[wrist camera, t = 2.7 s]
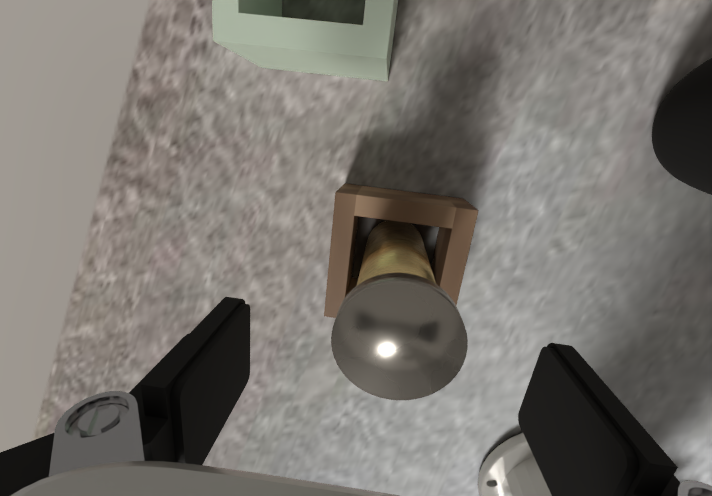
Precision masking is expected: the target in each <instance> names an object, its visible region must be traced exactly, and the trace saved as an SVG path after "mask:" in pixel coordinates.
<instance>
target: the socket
mask: <svg viewBox="0 0 712 496" xmlns="http://www.w3.org/2000/svg"><path fill="white" fill-rule="evenodd" d="M397 6H398V0H365V10H364V20H363V25H356V24H346V23H336V22H326V21H316V20H306V19H296V18H285V17H282V0H212V16H213V41H214V42H216V43H218V44H220V45H221V46H223V47H225V48H227V49H229V50H230V51H232V52H234V53H236V54H238V55H239V56H241V57H243V58H245V59H247V60H248V61H250V62H252V63H254V64H256V65H257V66H259V67H261V68H269V69H278V70H287V71H297V72H306V73H315V74H324V75H333V76H343V77H352V78H361V79H370V80H379V81H388V76H389V68H390V60H391V53H392V45H393V37H394V30H395V22H396V14H397Z"/></svg>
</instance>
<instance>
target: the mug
mask: <svg viewBox="0 0 712 496" xmlns="http://www.w3.org/2000/svg"><path fill="white" fill-rule="evenodd" d="M652 143H653V148H654V151H655V154H656V156H657V158H658V160H659V162H660V163H661V164H662V166H663V167H664V168H665V169H666V170H667V171H668V172H669V173H670V174H672V175H673V176H674V177H676V178H677V179H679V180H680V181H682V182H684V183H686V184H688V185H690V186H692V187H694V188H696V189H699V190H701V191H703V192H706V193H708V194H711V195H712V58H711V59H710V60H708V61H706V62H705V63H703V64H702V65H700V66H699V67H697V68H696V69H694V70H693V71H692V72H690V73H689V74H688V75H687V76H686V77H684V78H683V79H682V80H681V81H680V82H679V83H678V84H677V85H676V86H675V87H674V88H673V89H672V90H671V91H670V93H669V94H668V95H667V97H666V98H665V100H664V101H663V103H662V104H661V106H660V108H659V110H658V112H657V115H656V117H655V120H654V124H653V130H652Z"/></svg>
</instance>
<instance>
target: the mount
mask: <svg viewBox="0 0 712 496" xmlns="http://www.w3.org/2000/svg"><path fill="white" fill-rule="evenodd" d="M477 215H478V210H477V209H476V208H475V207H473V206H472V205H471V204H470V203H468V202H467V201H466V200H465V199H463V198H455V197H447V196H439V195H431V194H424V193H416V192H408V191H400V190H392V189H385V188H377V187H369V186H361V185H353V184H346V183H345V184H344V185H343V186H342V187H341V188H340V189H338V190H337V191H336V194H335V204H334V215H333V226H332V236H331V247H330V258H329V269H328V279H327V290H326V301H325V311H324V316H327V317H333V318H336V316H337V313H338V310H339V307H340V305H341V303H342V301H343V300H344V298H345V297H346V296H347V294H348V293H349V292H350V291H351V290H352V289H353V288H354V287H356V286H357V282H358V278H352V269H353V261H354V252H355V244H356V236H357V227H358V219H359V216H361V217H369V218H376V219H384V220H391V221H399V222H406V223H414V224H421V225H429V226H436V227H439V231H438V236H437V241H436V246H435V251H434V256H433V261H432V266H431V269H432V272H433V275H434V278H435V281H436V284H437V285H438V286H440V287H441V288H442V289H443V290H444V291H446V293H447V294H448V295H449V296H450V297H451V298H452V300H453V301H454V303H455V304H457V300H458V296H459V292H460V287H461V283H462V279H463V274H464V270H465V266H466V262H467V257H468V253H469V249H470V245H471V240H472V236H473V232H474V227H475V223H476V219H477Z"/></svg>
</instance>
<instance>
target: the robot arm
mask: <svg viewBox="0 0 712 496" xmlns="http://www.w3.org/2000/svg"><path fill="white" fill-rule="evenodd" d="M249 375H250V306H249V305H248V304H245V301H244V300H243V299H238V298H231V297H225V298H224V299H223V300H222V301H221V302H220V303H219V304H218V305H217V306H216V307H215V308H214V309H213V310H212V311H211V312H210V313H209V314H208V315H207V316H206V317H205V318H204V319H203V320H202V321H201V322H200V324H199V325H198V326H197V327H196V328H195V329H194V330H193V331H192V332H191V333H190V334H187V335H186V336H185V337H183V338H182V339H181V340H180V341H179V342H178V344H177V345H176V346H175V347H174V348H173V349H172V350H171V351H170V352H169V353H168V354H167V355H166V356H165V357H164V358H163V359H162V360H161V361H160V362H159V363H158V364H157V365H156V366H155V367H154V368H153V369H152V370H151V371H150V372H149V373H148V374H147V375H146V376H145V377H144V378H143V379H142V380H141V381H140V382H139V383H138V384H137V385H136V386H135V387H134V388H133V389H132V390H131V391H130V392H129V393H126V392H122V391H109V392H104V393H99V394H96V395H94V396H91V397H88V398H86V399H84V400H82V401H80V402H79V403H77V404H75V405H74V406H72V407H71V408H70V409H69V410H67V411H66V412H65V413H64V414H63V416H62V417H61V418H60V419H59V420H58V423H57V425H56V428H55V433H52V434H50V435H47V436H44V437H41V438H39V439H36V440H33V441H31V442H28V443H25V444H22V445H20V446H17V447H15V448H12V449H9V450H6V451H3V452H1V453H0V496H398V495H392V494H386V493H380V492H374V491H368V490H362V489H355V488H349V487H343V486H336V485H330V484H324V483H317V482H311V481H305V480H298V479H292V478H286V477H279V476H273V475H267V474H260V473H254V472H246V471H239V470H232V469H225V468H217V467H210V466H203V465H202V464H203V462H204V461H205V459H206V457H207V455H208V453H209V452H210V450H211V448H212V446H213V444H214V442H215V441H216V439H217V437H218V435H219V433H220V432H221V430H222V428H223V426H224V424H225V422H226V421H227V419H228V417H229V415H230V413H231V412H232V410H233V408H234V406H235V404H236V402H237V401H238V399H239V397H240V395H241V393H242V392H243V390H244V388H245V386H246V384H247V382H248V379H249ZM518 420H519V425H520V427H521V429H522V432H523V433H521V434H518V435H516V436H514V437H512V438H510V439H508V440H507V441H505V442H503V443H502V444H500V445H499V446H498V447H497V448H496V449H495V450H494V451H492V452H491V453H490V454H489V456H488V457H487V459H486V460H485V461H484V463H483V465H482V467H481V470H480V472H479V477H478V489H479V495H480V496H712V486H710V485H708V484H704V483H701V482H698V481H690V480H686V481H684V482H681V483H680V482H679V481H678V480H677V478H676V477H675V476H674V473H675V471H676V470H677V468H678V467H677V466H676V465H675V464H674V463H673V461H672V460H671V459H670V458H669V457H668V456H667V455H666V453H665V452H664V451H663V450H662V449H661V448H660V446H659V445H658V444H657V443H656V442H655V441H654V440H653V438H652V437H651V436H650V435H649V434H648V433H647V431H646V430H645V429H644V428H643V427H642V426H641V425H640V423H639V422H638V421H637V420H636V419H635V418H634V417H633V415H632V414H631V413H630V412H629V411H628V410H627V408H626V407H625V406H624V405H623V404H622V403H621V402H620V400H619V399H618V398H617V397H616V396H615V395H614V393H613V392H612V391H611V390H610V389H609V388H608V387H607V385H606V384H605V383H604V382H603V381H602V380H601V379H600V377H599V376H598V375H597V374H596V373H595V372H594V370H593V369H592V368H591V367H590V366H589V365H588V364H587V362H586V361H585V360H584V359H583V358H582V357H581V355H580V354H579V353H578V352H577V351H576V350H575V349H574V348H573V347H572V346H569V345H562V344H555V343H550V344H549V345H548V346H547V347H543V348H542V350H541V352H540V355H539V357H538V360H537V363H536V366H535V369H534V371H533V374H532V377H531V380H530V383H529V385H528V388H527V391H526V394H525V397H524V399H523V402H522V405H521V408H520V411H519V414H518Z"/></svg>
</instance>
